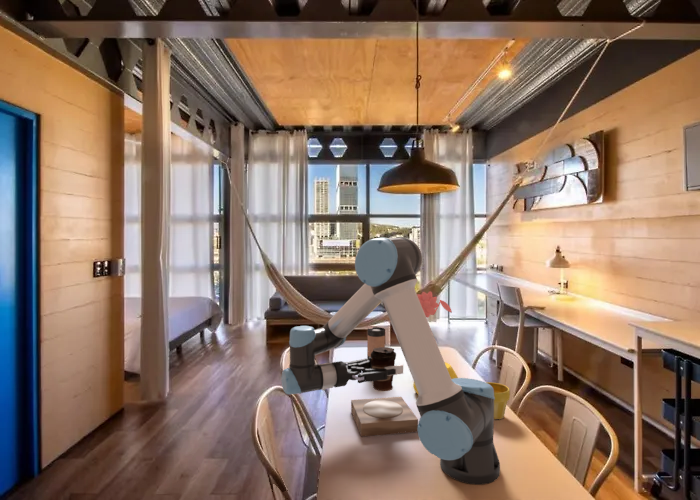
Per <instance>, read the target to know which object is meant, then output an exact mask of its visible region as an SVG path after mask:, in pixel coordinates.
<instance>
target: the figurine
mask: <svg viewBox="0 0 700 500" xmlns="http://www.w3.org/2000/svg"><path fill="white" fill-rule="evenodd" d="M416 294H417V296H418V299H419V301H420V304H421V306H422V308H423V311H424V313H425V316H426V318H430V316H435V314H436V313H437V311H438V308H439V306H440V305H441V306H442V308H443V309H444V310H446V311H447V312H449V313H451V314H452V308H451V307H450V305H449V304H448V303H447V302H446V301H445V300H442V299H440V300H439V302H437V300H438V297H437V296H433V292H432V291H428V292H425V291H422V292H421V293H420V294H419V293H416Z"/></svg>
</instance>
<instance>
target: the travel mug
mask: <svg viewBox="0 0 700 500" xmlns="http://www.w3.org/2000/svg"><path fill="white" fill-rule="evenodd" d="M385 334H386V330H385V328H383V327H377V326H374V327H372V328H369V327H368V328H367V346H366V347H367V349H366V351H367V356H366V359H368V360H369V358H371V353H372V352H373V349H374V348H379V347H386V339H385V338H386V336H385ZM369 369H372V368H369Z"/></svg>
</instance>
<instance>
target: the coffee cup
mask: <svg viewBox="0 0 700 500" xmlns="http://www.w3.org/2000/svg"><path fill="white" fill-rule="evenodd" d="M396 357H397V353H396V352H395V348H392V347H388V346H385V347H379V348H374V349H373V352H372V353H371V365H372V369H384V367H389V366H395V365H396V364H395V362H396V359H397V358H396ZM393 380H394V375H391V376H388V379H386V380H377V381H372V386H373V387H372V388H373V390H376V391H378V392H389V391H392V390H393V389H394V386H393Z"/></svg>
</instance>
